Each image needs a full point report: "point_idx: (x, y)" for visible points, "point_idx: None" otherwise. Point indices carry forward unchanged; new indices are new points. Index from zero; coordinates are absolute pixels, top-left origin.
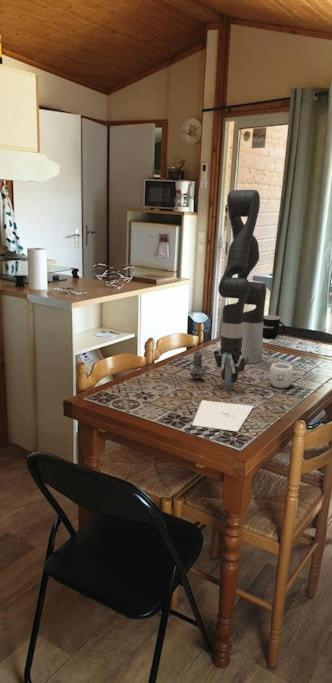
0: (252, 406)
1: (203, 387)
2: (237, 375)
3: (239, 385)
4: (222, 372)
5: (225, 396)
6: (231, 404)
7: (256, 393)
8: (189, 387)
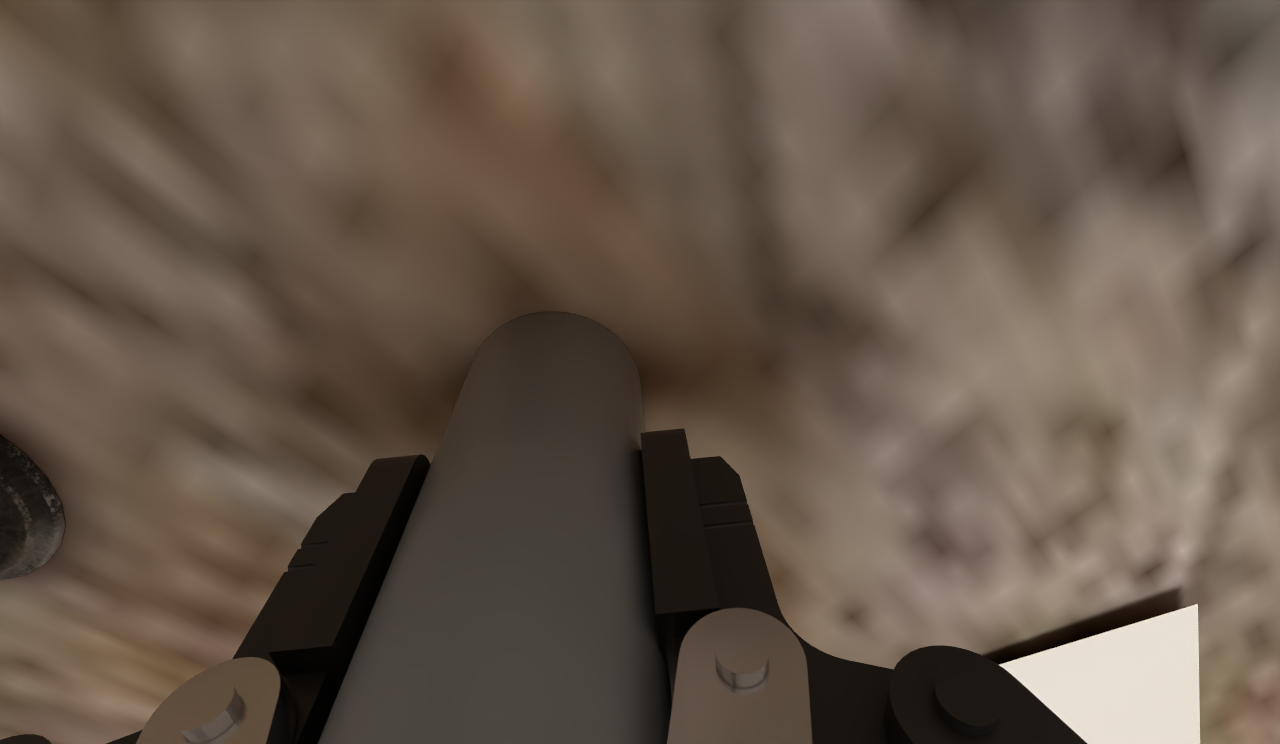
0: (1182, 618)
1: None
2: (763, 577)
3: (528, 78)
4: None
5: None
6: None
7: (1035, 175)
8: None
